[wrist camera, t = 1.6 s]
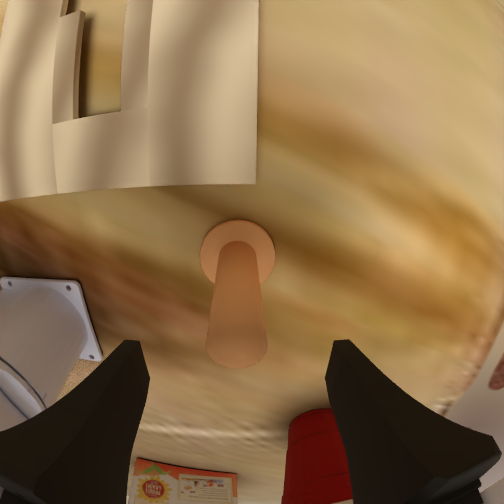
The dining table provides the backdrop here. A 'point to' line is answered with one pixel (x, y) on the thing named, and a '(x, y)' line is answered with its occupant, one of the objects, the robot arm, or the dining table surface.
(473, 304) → the dining table surface
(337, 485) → the plastic cup
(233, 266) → the keyhole peg
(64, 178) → the keyhole board
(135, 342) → the robot arm
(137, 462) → the cracker box
